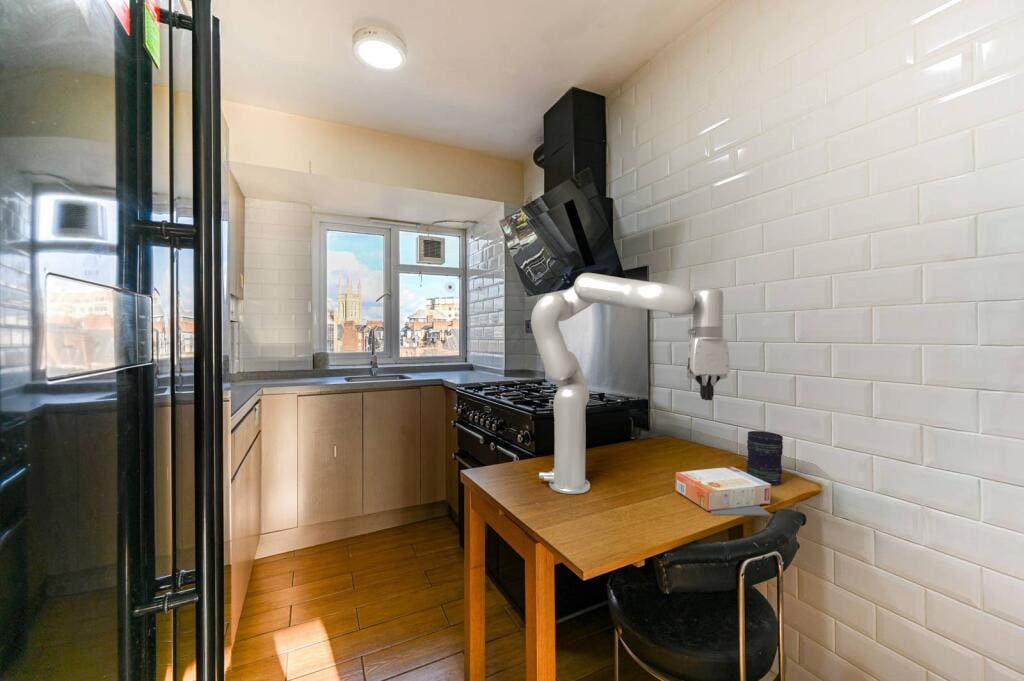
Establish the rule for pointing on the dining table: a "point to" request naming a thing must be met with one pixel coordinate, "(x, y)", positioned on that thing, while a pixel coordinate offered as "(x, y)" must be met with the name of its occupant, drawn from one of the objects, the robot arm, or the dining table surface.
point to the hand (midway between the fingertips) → (706, 399)
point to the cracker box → (722, 488)
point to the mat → (742, 511)
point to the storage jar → (765, 456)
